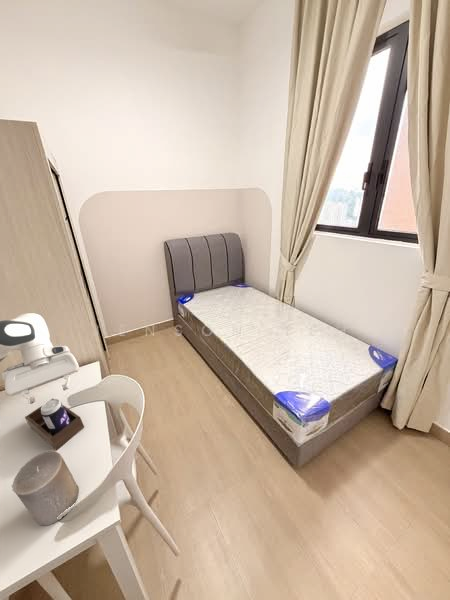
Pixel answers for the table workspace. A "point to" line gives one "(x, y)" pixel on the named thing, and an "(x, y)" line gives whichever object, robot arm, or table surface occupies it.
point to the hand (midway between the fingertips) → (49, 396)
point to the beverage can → (54, 416)
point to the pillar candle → (46, 487)
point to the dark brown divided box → (63, 435)
